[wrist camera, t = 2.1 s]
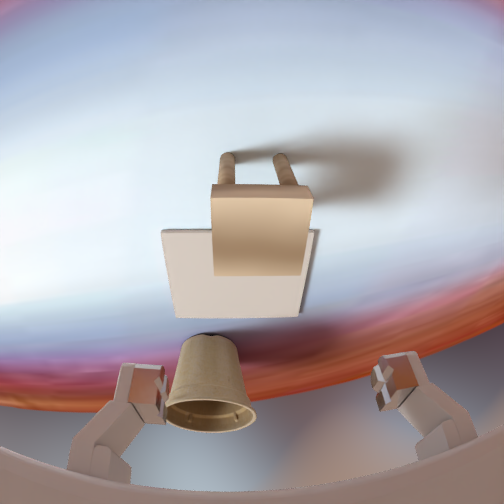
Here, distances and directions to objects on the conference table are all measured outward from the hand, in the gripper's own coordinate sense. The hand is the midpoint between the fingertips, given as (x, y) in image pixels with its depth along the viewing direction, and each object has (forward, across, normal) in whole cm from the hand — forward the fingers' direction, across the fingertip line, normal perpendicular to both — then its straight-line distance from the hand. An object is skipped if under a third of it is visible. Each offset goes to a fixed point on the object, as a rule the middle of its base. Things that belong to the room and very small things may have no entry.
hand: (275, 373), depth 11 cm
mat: (+15, +1, +8) cm, 17 cm away
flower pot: (+15, +4, +19) cm, 25 cm away
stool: (+14, 0, -1) cm, 15 cm away
